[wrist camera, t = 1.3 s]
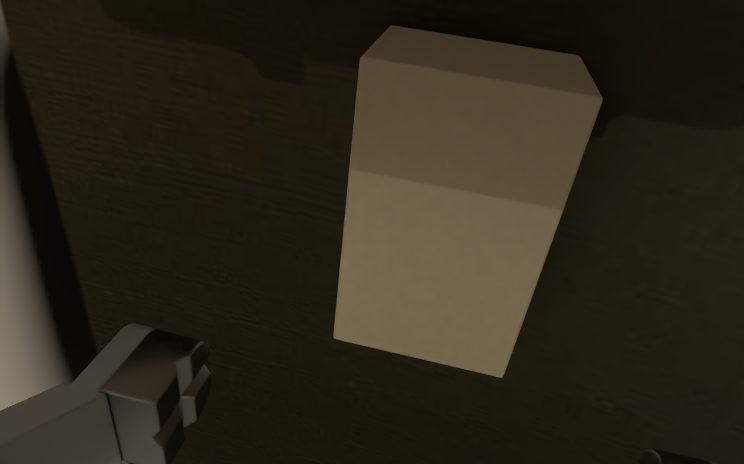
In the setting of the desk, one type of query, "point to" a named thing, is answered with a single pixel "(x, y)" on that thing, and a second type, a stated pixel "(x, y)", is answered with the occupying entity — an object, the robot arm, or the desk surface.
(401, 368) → the desk surface
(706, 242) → the desk surface
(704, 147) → the desk surface
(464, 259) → the top pad
